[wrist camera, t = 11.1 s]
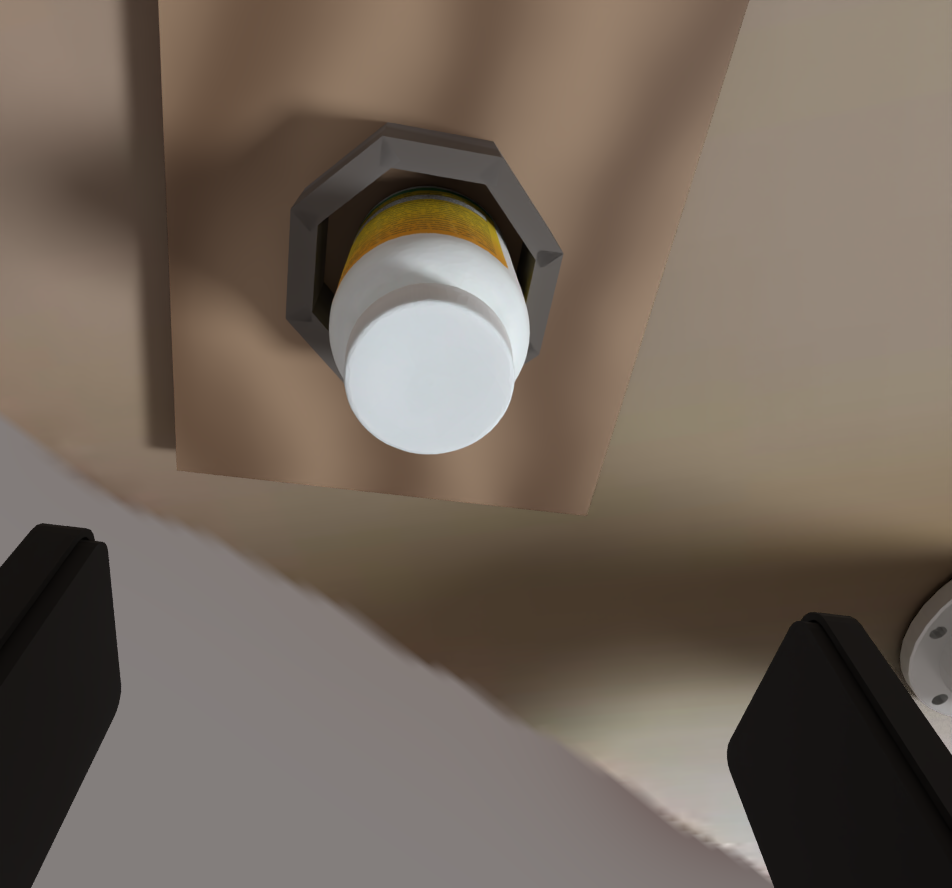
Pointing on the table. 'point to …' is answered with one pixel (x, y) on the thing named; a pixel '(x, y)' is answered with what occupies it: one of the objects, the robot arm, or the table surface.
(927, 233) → the table surface
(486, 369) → the supplement bottle
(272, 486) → the table surface
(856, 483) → the table surface
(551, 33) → the holder
